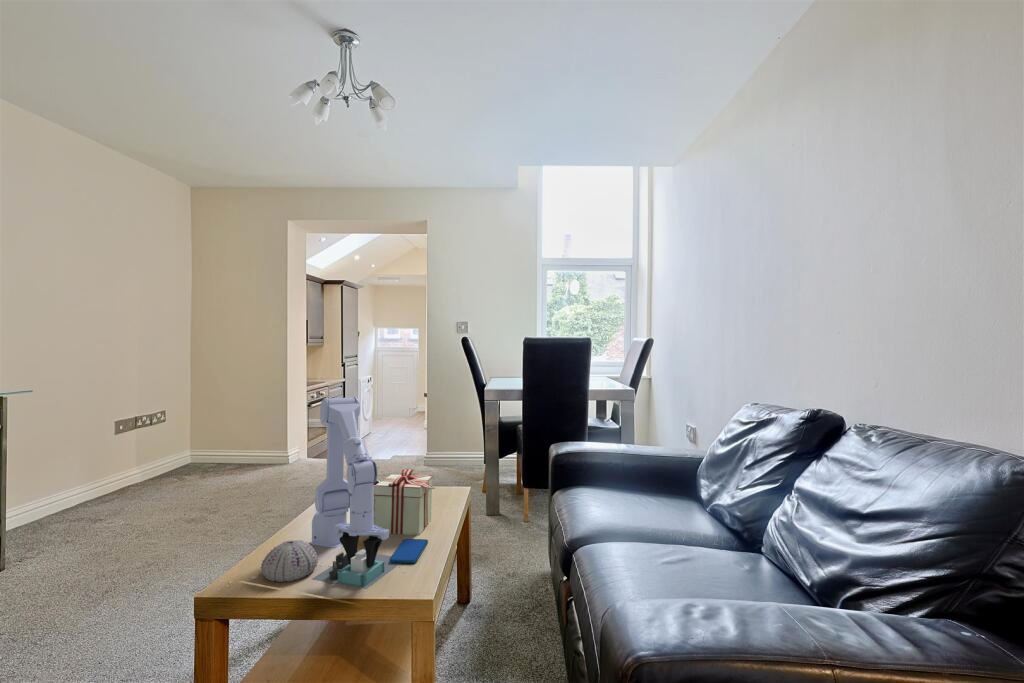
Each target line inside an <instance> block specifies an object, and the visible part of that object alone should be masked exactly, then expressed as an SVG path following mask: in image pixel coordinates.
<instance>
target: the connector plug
mask: <svg viewBox="0 0 1024 683" xmlns="http://www.w3.org/2000/svg"><path fill="white" fill-rule="evenodd" d="M358 551H359V552H357V553H356V554H355V556H354V557H352V558H351V572H356V573H362V574H363V573H365V572H366V571H368V570H369V569H370V568H372V567H373V566H374V565H373V566H372V567H370V568H367V565H366V550H365V548H363V549H360V550H358Z"/></svg>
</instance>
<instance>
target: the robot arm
mask: <svg viewBox="0 0 1024 683" xmlns="http://www.w3.org/2000/svg"><path fill="white" fill-rule="evenodd" d="M319 412H320V415H319V416H320V419H319V420H320V424H321V425H325V426H326V431H327V434H326V435H327V436H326V437H327V438H326V440H327V441H326V478H325V479H324V480H323V481H322V482H320V483H319V484H317V486H316V488H315V490H316V491H315V495H314V507H315V511H316V513H314V515H313V516H312V520H311V541H310V542H309V544H310V545H315V546H321V547H327V548H333V549H335V548H339V547H341V546H343V548H344V551H345V555H346V554H347V558H348V561H349V565H351V558H352V557H354V556H355V554H356V553H357V551H358V544H359V538H360V537H361V536H362V537H367V539H365V540H364V541H362V542H363V546H364V549H365V550H366V565H367V568H370V567H372V566H373V565H374V563H375V558H376V554H378V551H379V549H380V546H381V544H382V542H383V541H385V540H387V539H389V538H390V534H389V530H388V529H383V528H381V527H378V526H375V506H374V505H375V504H374V503H375V500H374V498H375V496H374V486H375V483H376V482H377V480H378V466H377V463H376V461H375V459H373V457H372V456H370V454H369V450H368V448H367V445H366V441H365V439H364V438H362V437H360V435H359V431H358V424H357V420H359V416H360V414H361V404H360V400H359V398H358V397H357V396H350V397H334V398H328V397H327V398H323V399H322V400H321V403H320V411H319ZM344 460H345V462H346V465H347V468H346V479H345V478H344V467H345V466H344ZM348 512H349V523H348V519H347V518H348V514H347V513H348Z"/></svg>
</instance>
